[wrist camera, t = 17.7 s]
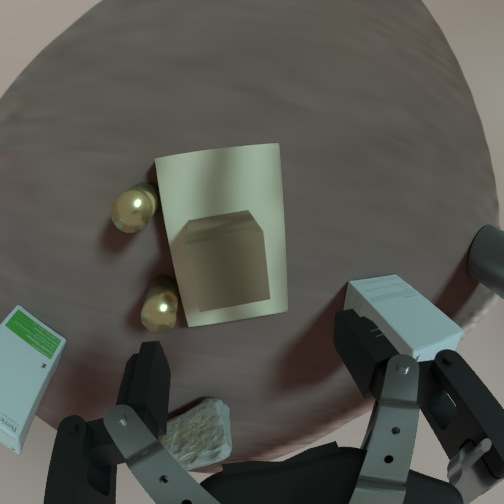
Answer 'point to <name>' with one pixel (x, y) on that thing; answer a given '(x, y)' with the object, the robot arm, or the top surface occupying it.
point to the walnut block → (227, 260)
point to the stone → (199, 435)
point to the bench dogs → (161, 288)
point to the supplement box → (403, 316)
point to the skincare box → (24, 372)
